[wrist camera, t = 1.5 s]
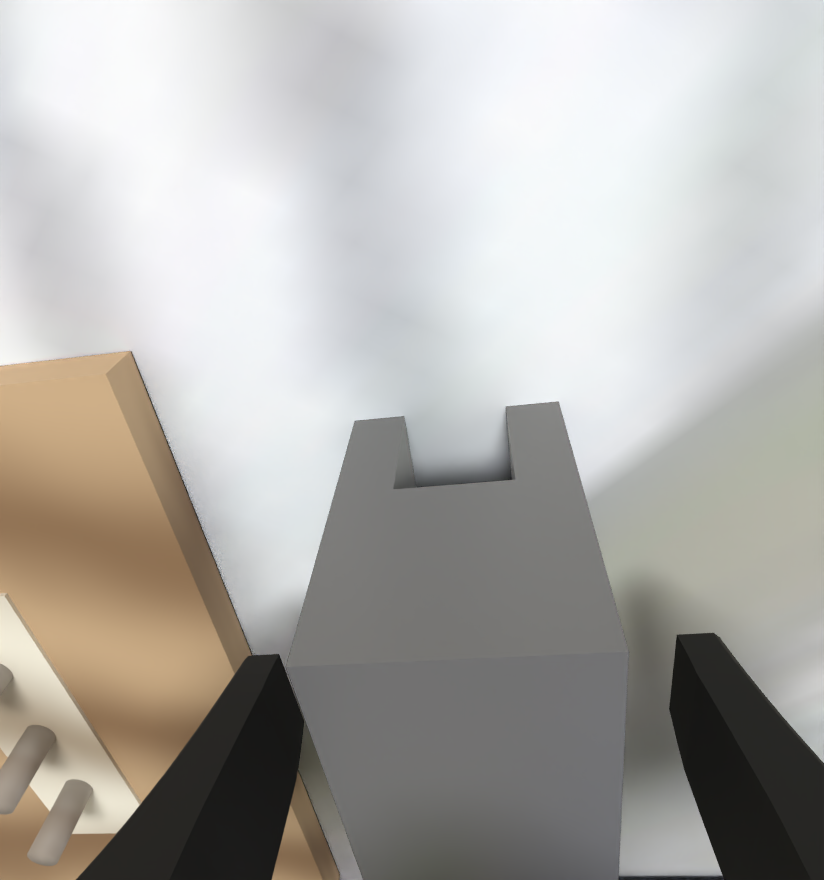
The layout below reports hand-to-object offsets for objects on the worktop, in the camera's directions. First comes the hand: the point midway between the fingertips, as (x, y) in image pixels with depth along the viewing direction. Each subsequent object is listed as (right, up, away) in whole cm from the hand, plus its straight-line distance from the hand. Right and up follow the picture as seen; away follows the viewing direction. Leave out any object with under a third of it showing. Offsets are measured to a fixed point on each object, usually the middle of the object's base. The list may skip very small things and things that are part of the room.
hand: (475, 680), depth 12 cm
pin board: (-11, -3, +6) cm, 13 cm away
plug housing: (0, +2, +3) cm, 3 cm away
